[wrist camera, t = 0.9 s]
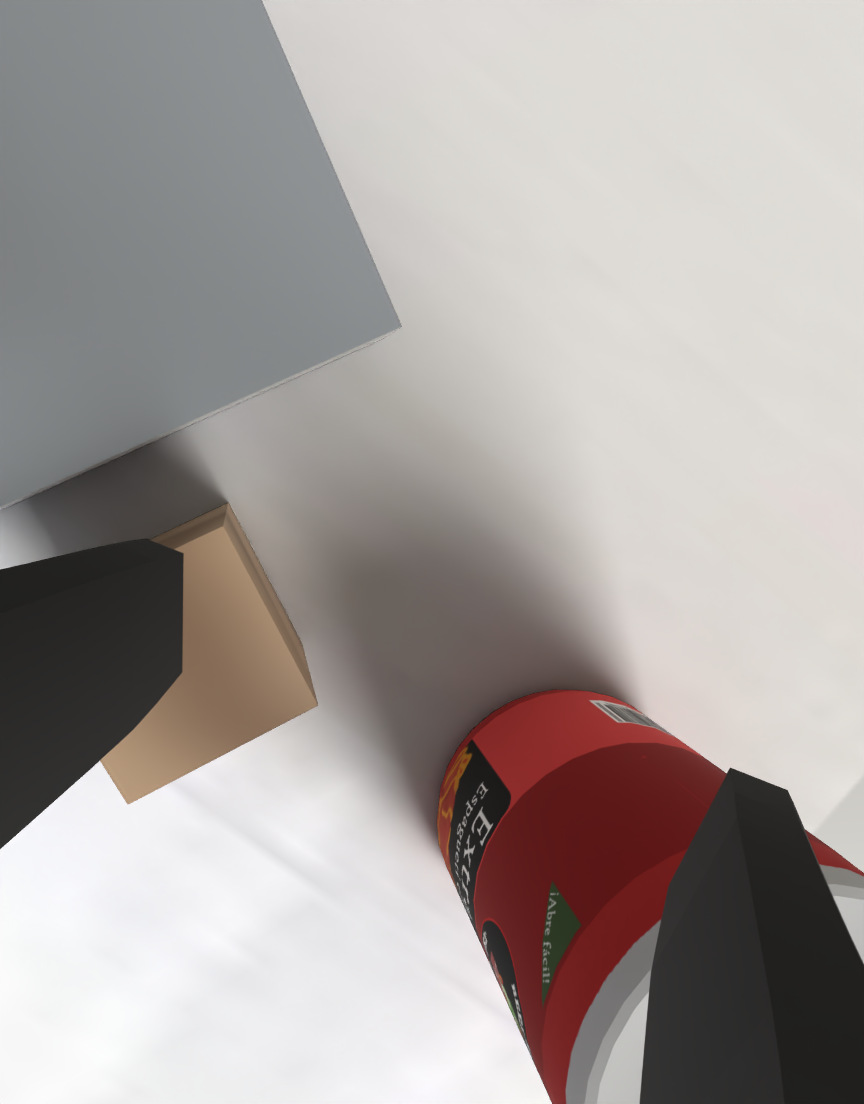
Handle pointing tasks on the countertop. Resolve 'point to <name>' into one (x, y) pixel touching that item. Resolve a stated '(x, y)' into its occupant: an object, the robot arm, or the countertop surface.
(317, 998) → the countertop surface
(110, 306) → the slate base
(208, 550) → the light brown rectangular block
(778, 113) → the countertop surface
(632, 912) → the canned food
